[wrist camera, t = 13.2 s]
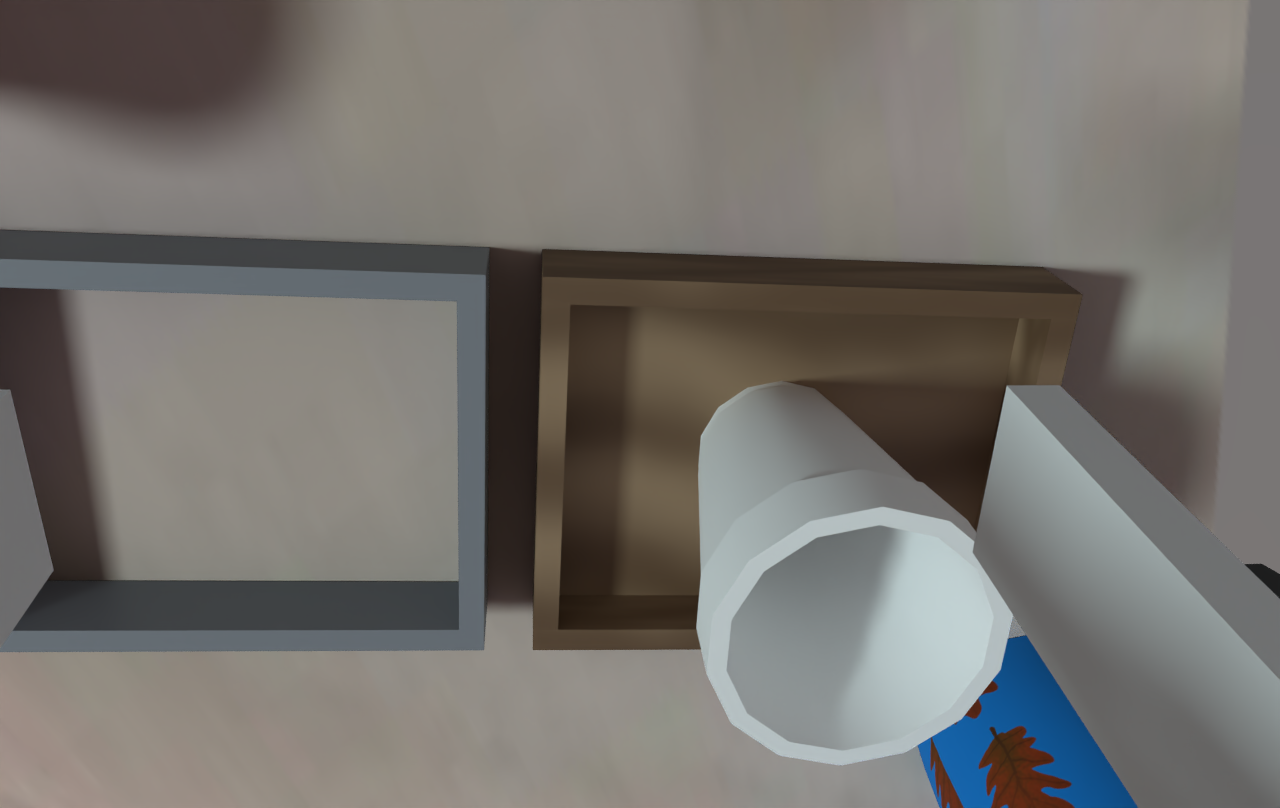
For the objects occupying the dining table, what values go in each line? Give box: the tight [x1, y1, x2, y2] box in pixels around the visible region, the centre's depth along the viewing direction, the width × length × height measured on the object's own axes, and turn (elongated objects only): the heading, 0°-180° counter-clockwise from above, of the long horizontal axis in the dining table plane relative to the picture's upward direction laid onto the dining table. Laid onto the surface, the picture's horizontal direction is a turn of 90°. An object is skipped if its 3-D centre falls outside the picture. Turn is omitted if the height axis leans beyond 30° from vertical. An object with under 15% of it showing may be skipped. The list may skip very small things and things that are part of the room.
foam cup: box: [696, 381, 1013, 766], centre depth 39 cm, size 10×9×13 cm
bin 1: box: [0, 230, 489, 652], centre depth 42 cm, size 16×20×4 cm
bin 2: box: [533, 249, 1082, 650], centre depth 44 cm, size 16×20×4 cm
